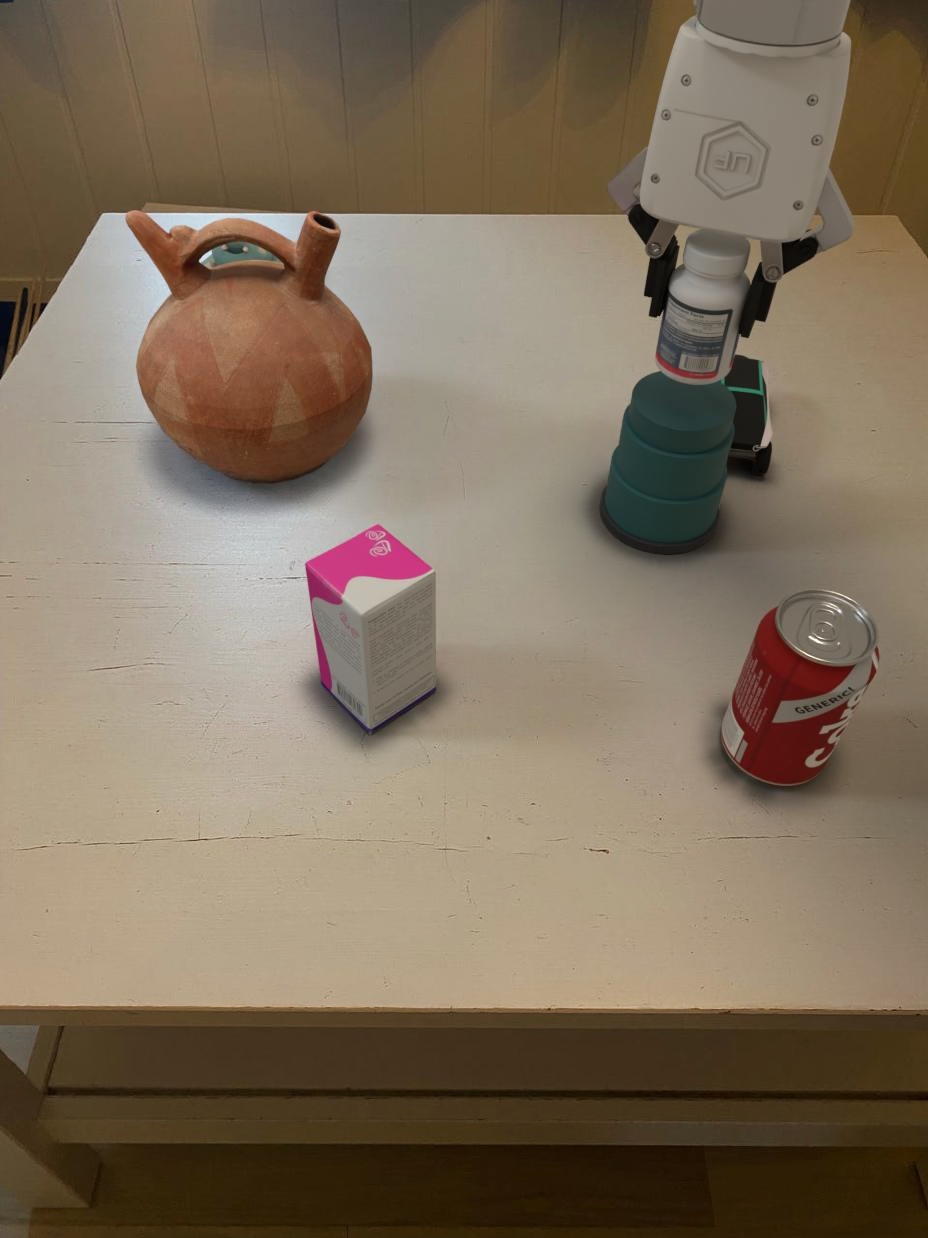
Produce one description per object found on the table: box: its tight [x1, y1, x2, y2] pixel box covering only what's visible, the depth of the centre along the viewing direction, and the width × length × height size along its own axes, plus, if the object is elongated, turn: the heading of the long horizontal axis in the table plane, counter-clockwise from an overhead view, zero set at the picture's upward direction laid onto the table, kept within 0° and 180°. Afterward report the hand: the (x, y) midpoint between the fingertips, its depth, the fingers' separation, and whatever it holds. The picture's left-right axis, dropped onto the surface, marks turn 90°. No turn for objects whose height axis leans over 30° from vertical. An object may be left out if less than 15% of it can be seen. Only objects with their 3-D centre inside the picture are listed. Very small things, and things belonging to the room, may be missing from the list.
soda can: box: [720, 588, 880, 787], centre depth 56 cm, size 7×7×12 cm
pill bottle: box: [654, 229, 751, 385], centre depth 62 cm, size 5×5×9 cm
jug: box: [124, 209, 374, 484], centre depth 73 cm, size 18×18×20 cm
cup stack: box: [599, 370, 736, 555], centre depth 72 cm, size 9×9×11 cm
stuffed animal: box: [200, 242, 282, 269], centre depth 95 cm, size 11×7×12 cm
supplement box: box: [304, 523, 437, 735], centre depth 59 cm, size 6×6×12 cm
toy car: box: [719, 354, 774, 475], centre depth 81 cm, size 6×12×5 cm, turn 170°
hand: (703, 314), depth 62 cm, fingers closed on pill bottle, 5 cm apart
